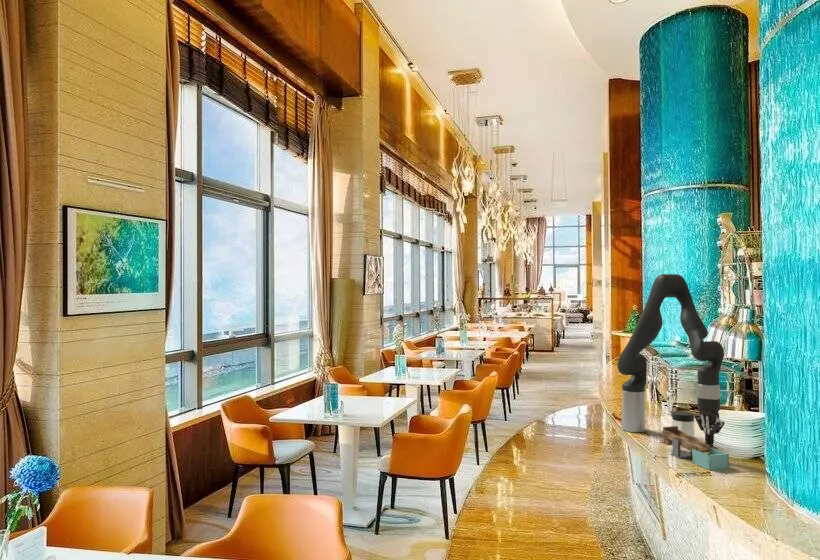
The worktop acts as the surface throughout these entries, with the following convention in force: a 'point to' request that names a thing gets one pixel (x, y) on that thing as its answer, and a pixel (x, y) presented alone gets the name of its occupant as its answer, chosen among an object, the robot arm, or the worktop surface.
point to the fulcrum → (677, 450)
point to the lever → (684, 440)
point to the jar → (684, 422)
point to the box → (711, 459)
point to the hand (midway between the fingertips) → (709, 444)
